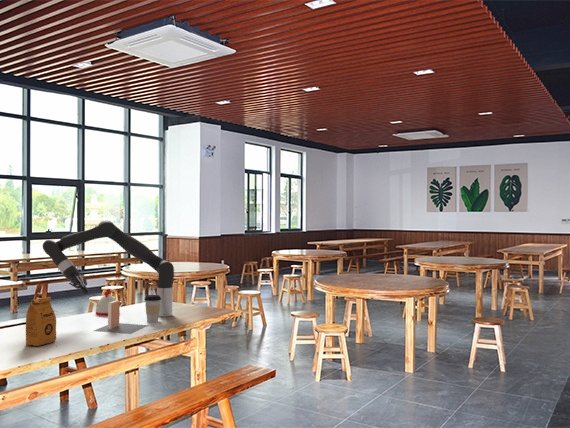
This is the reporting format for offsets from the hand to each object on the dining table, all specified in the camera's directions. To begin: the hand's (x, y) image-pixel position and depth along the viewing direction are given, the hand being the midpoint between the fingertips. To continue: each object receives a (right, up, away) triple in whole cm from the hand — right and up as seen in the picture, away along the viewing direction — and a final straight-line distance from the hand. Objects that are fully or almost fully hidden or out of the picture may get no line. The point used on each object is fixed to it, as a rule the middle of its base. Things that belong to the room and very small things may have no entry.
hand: (87, 292), depth 279 cm
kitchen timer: (-1, -18, +35) cm, 40 cm away
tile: (+15, -18, -3) cm, 24 cm away
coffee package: (-8, -19, -37) cm, 42 cm away
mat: (+20, -19, -4) cm, 28 cm away
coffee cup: (+32, -19, +13) cm, 40 cm away
